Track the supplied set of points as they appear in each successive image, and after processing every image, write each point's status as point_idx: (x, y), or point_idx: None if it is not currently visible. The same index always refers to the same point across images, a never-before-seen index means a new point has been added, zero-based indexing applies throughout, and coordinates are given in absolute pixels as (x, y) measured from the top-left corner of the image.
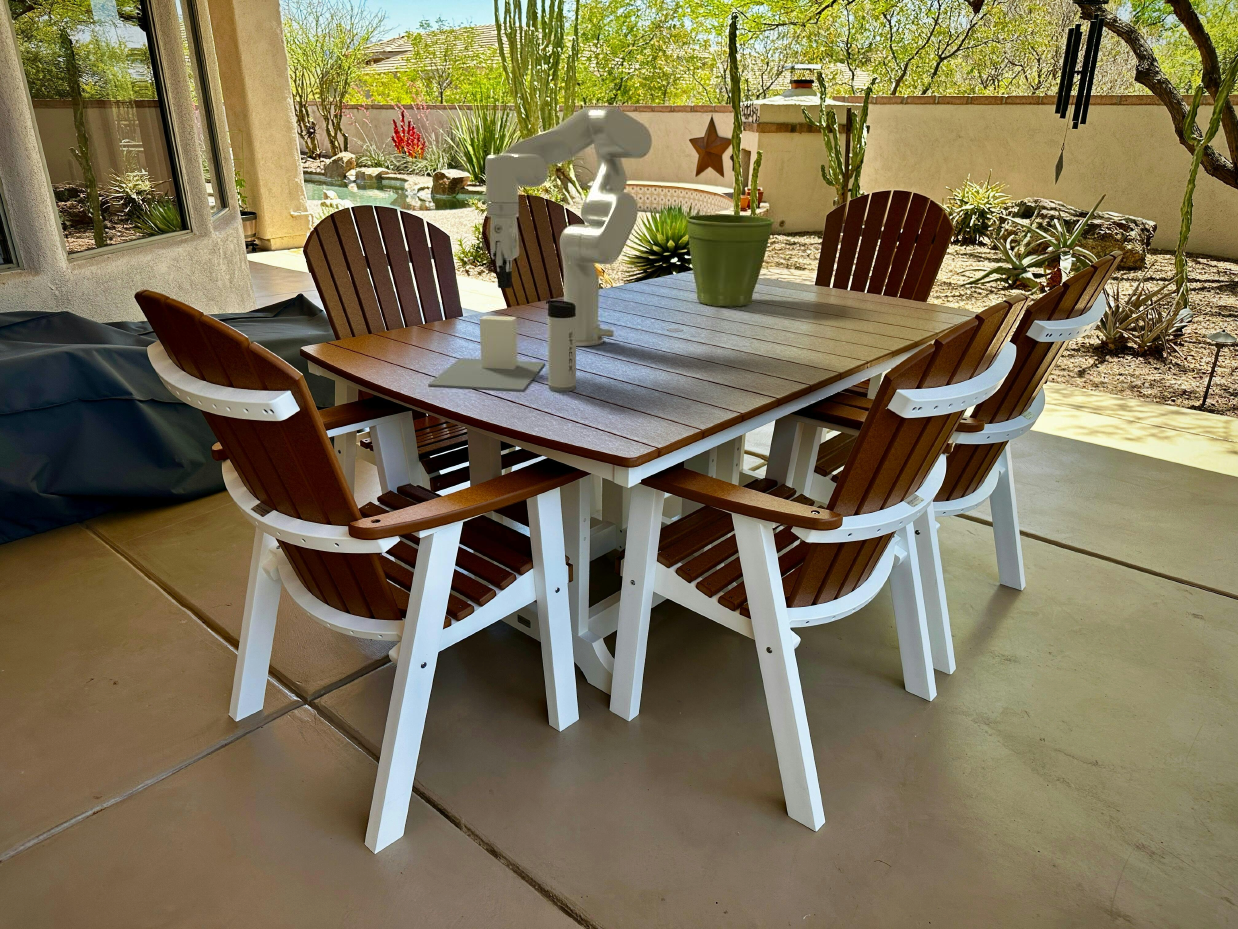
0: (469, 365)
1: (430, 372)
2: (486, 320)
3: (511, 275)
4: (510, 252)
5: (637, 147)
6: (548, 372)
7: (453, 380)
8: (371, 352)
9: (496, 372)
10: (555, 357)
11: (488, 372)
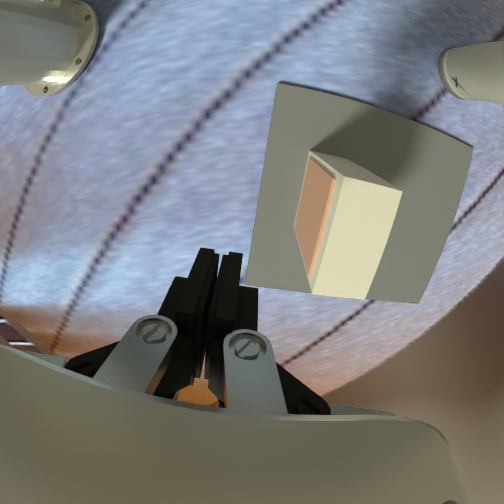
0: None
1: (337, 315)
2: (371, 277)
3: (195, 290)
4: (448, 486)
5: None
6: (480, 100)
7: (409, 271)
8: (209, 395)
9: None
10: None
11: None
